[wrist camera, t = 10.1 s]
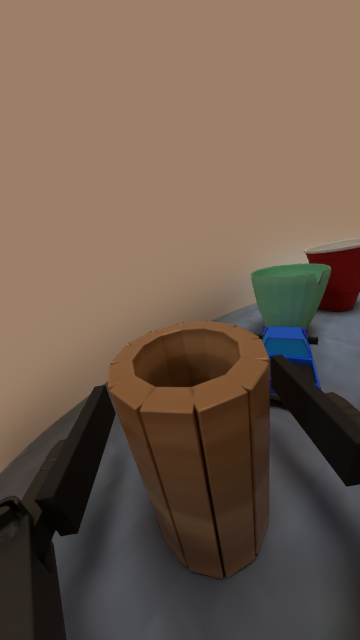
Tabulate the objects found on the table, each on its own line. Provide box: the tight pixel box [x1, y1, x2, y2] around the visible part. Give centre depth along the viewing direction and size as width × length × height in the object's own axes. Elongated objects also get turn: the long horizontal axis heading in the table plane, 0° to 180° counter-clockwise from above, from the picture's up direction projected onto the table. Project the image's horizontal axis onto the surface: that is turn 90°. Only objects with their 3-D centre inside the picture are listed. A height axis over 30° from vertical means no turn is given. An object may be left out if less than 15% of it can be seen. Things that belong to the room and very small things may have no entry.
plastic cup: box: [304, 237, 360, 311], centre depth 35 cm, size 11×11×12 cm
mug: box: [251, 264, 331, 331], centre depth 31 cm, size 15×10×10 cm
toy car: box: [255, 326, 321, 401], centre depth 22 cm, size 7×12×5 cm, turn 154°
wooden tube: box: [108, 321, 270, 579], centre depth 11 cm, size 7×7×11 cm
